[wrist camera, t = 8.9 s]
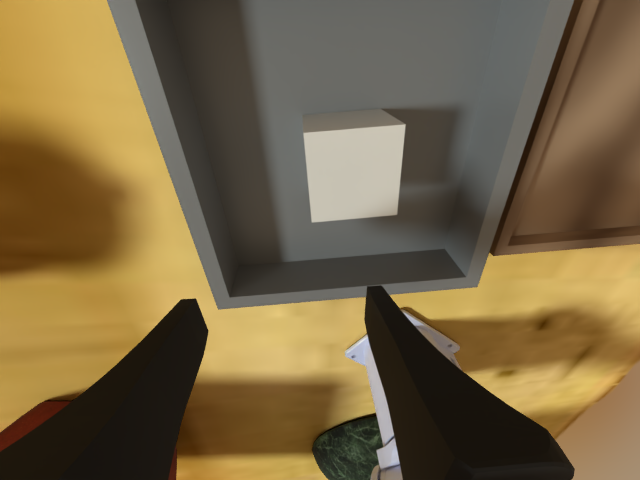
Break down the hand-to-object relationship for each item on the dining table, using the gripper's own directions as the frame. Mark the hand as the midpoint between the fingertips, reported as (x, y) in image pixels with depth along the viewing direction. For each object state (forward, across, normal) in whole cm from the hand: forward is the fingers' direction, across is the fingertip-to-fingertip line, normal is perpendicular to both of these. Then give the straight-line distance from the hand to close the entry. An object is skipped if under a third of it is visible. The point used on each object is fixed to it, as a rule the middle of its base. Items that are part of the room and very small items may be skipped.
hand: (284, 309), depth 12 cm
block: (+9, -4, -4) cm, 10 cm away
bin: (+9, -4, -4) cm, 11 cm away
